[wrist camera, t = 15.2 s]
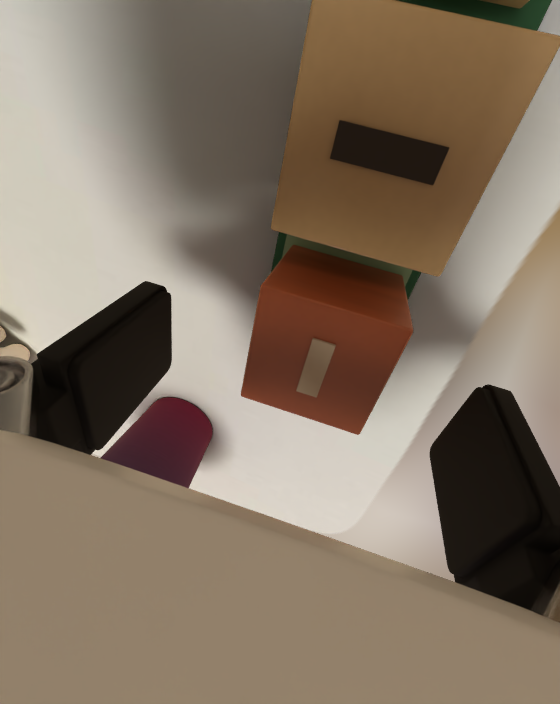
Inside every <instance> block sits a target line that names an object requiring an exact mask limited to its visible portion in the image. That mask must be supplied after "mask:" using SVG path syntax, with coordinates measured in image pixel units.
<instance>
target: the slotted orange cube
mask: <svg viewBox="0 0 560 704" xmlns="http://www.w3.org/2000/svg"><path fill="white" fill-rule="evenodd" d="M412 333H413V325H412V320H411V315H410V310H409V305H408V300H407V295H406V290H405V285H404V280H403V276H402V275H399V274H395V273H392V272H388V271H385V270H381V269H378V268H374V267H371V266H367V265H364V264H360V263H357V262H353V261H350V260H346V259H343V258H339V257H336V256H332V255H329V254H325V253H322V252H318V251H315V250H311V249H308V248H304V247H301V246H297V245H292V246H291V248H290V249H289V250H288V251H287V253H286V254H285V255H284V257H283V258H282V259H281V260H280V262H279V263H278V264H277V266H276V267H275V268H274V269H273V271H272V272H271V273H270V274H269V276H268V277H267V278H266V280H265V281H264V282H263V283H262V285H261V286H260V292H259V297H258V303H257V308H256V314H255V319H254V325H253V330H252V336H251V341H250V347H249V352H248V358H247V363H246V368H245V374H244V379H243V385H242V390H241V396H242V397H245V398H248V399H251V400H254V401H257V402H260V403H263V404H266V405H269V406H272V407H275V408H278V409H281V410H284V411H287V412H291V413H294V414H297V415H300V416H303V417H306V418H309V419H312V420H315V421H318V422H321V423H324V424H327V425H330V426H333V427H336V428H339V429H342V430H345V431H348V432H351V433H354V434H357V435H359V434H360V433H361V431H362V429H363V427H364V425H365V423H366V421H367V419H368V417H369V415H370V413H371V412H372V410H373V408H374V406H375V404H376V402H377V400H378V398H379V396H380V394H381V393H382V391H383V389H384V387H385V385H386V383H387V381H388V379H389V377H390V375H391V373H392V372H393V370H394V368H395V366H396V364H397V362H398V360H399V358H400V356H401V354H402V353H403V351H404V349H405V347H406V345H407V343H408V341H409V339H410V337H411V335H412Z"/></svg>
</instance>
